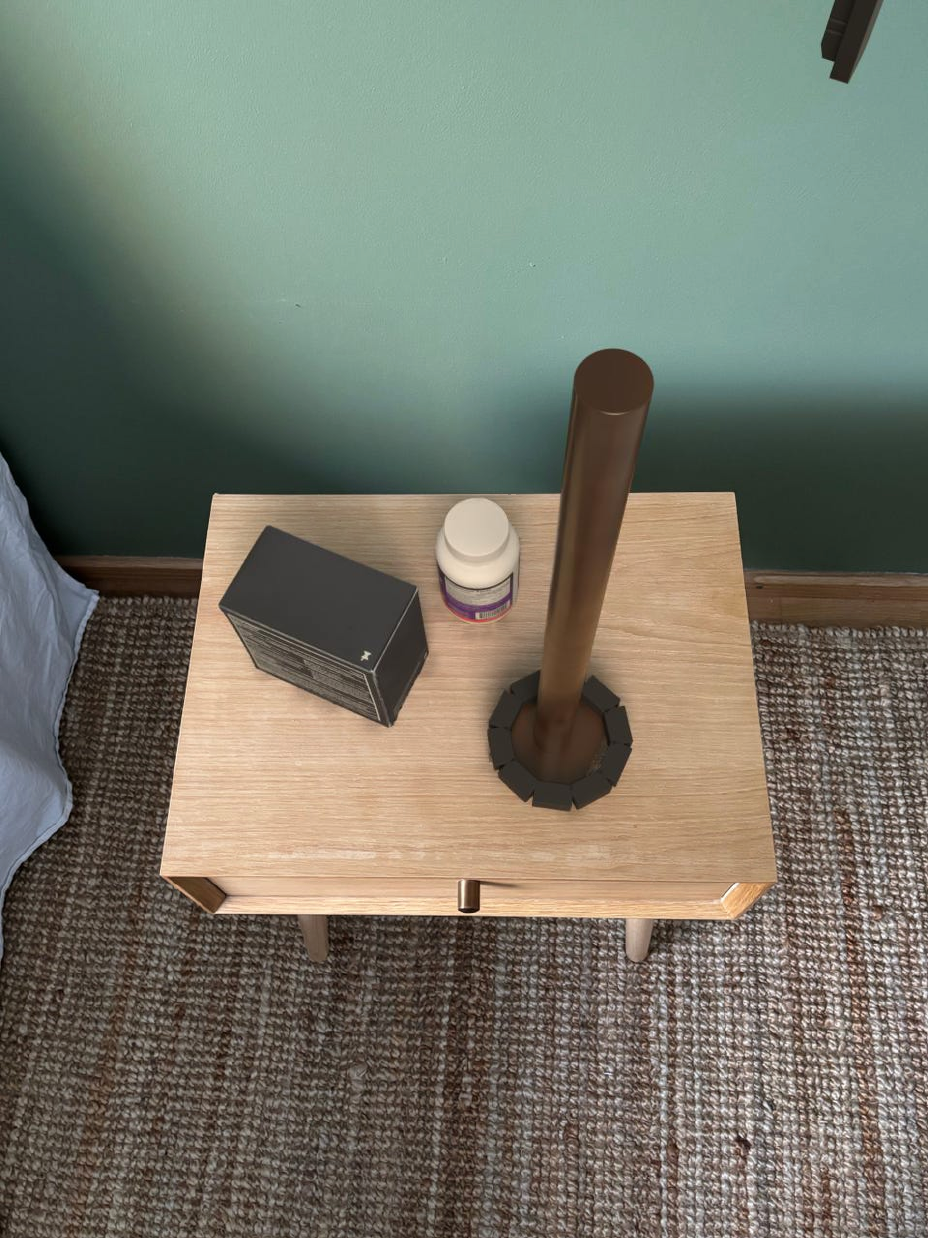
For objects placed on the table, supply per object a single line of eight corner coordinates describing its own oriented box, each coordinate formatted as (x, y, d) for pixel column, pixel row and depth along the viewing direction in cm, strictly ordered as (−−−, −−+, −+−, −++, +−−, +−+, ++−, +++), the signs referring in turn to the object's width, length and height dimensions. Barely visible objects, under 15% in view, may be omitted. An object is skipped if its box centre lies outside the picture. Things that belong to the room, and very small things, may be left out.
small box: (434, 647, 70) (424, 582, 60) (392, 731, 68) (374, 679, 58) (298, 588, 72) (267, 517, 62) (252, 669, 70) (212, 608, 60)
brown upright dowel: (612, 721, 68) (745, 341, 31) (573, 802, 66) (668, 498, 29) (529, 682, 69) (565, 273, 32) (489, 761, 67) (478, 419, 30)
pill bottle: (456, 546, 73) (451, 475, 64) (529, 569, 72) (533, 501, 63) (428, 612, 71) (418, 549, 62) (502, 637, 70) (503, 577, 61)
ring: (650, 708, 66) (653, 702, 65) (593, 836, 63) (595, 831, 62) (526, 652, 68) (526, 645, 67) (465, 774, 65) (464, 768, 64)
